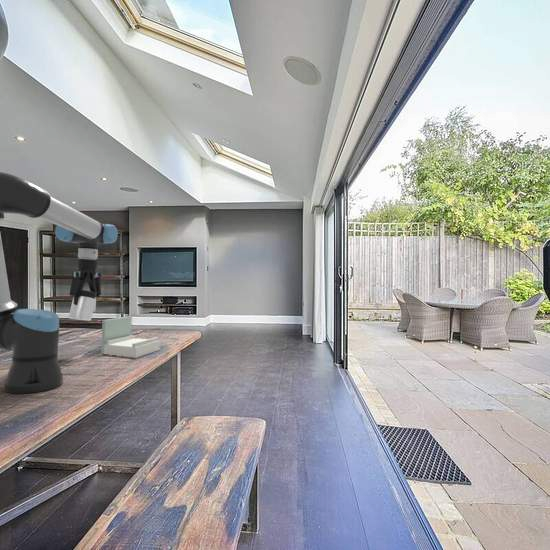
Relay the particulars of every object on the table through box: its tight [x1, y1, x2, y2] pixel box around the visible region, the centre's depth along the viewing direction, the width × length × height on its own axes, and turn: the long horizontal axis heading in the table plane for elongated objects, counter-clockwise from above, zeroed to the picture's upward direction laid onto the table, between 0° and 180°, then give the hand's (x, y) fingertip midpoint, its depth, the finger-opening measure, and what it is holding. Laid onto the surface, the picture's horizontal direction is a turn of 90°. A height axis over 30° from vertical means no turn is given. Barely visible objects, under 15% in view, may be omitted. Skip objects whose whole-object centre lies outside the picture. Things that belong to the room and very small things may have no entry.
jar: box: [68, 289, 96, 322], centre depth 147 cm, size 9×8×12 cm
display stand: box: [100, 315, 161, 359], centre depth 159 cm, size 18×18×15 cm
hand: (85, 312), depth 148 cm, fingers closed on jar, 7 cm apart
